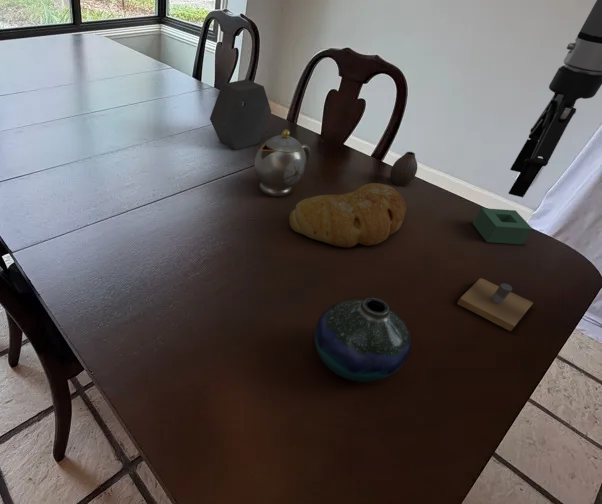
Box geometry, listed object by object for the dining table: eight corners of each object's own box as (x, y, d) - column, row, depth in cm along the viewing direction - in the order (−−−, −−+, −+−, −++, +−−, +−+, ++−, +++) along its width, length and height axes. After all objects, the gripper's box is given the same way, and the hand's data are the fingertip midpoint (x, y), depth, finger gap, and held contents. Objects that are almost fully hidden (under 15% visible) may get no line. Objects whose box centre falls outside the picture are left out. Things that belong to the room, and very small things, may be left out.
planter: (259, 117, 150) (241, 63, 132) (275, 125, 146) (259, 69, 128) (225, 153, 150) (202, 104, 132) (240, 162, 146) (219, 112, 128)
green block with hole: (505, 225, 116) (515, 210, 113) (522, 244, 110) (532, 228, 107) (472, 223, 116) (481, 207, 113) (486, 242, 110) (496, 226, 107)
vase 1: (373, 330, 85) (400, 274, 75) (410, 393, 74) (446, 338, 64) (297, 333, 83) (314, 277, 73) (323, 399, 72) (347, 342, 63)
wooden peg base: (477, 282, 97) (489, 264, 94) (529, 308, 92) (544, 289, 88) (456, 303, 92) (468, 284, 88) (510, 331, 87) (525, 312, 83)
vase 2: (383, 182, 131) (394, 152, 125) (393, 175, 135) (404, 146, 128) (405, 190, 128) (417, 160, 121) (414, 183, 131) (427, 153, 125)
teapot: (268, 207, 116) (280, 144, 105) (239, 185, 124) (247, 124, 112) (319, 193, 123) (335, 133, 112) (288, 173, 131) (300, 115, 120)
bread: (326, 262, 100) (338, 223, 93) (277, 220, 112) (285, 182, 105) (426, 234, 111) (445, 197, 104) (372, 198, 123) (385, 163, 116)
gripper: (557, 52, 88) (499, 158, 103) (564, 80, 72) (494, 201, 87) (601, 58, 85) (535, 166, 100) (617, 90, 70) (536, 211, 85)
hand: (516, 182), depth 94 cm, fingers open, 13 cm apart
